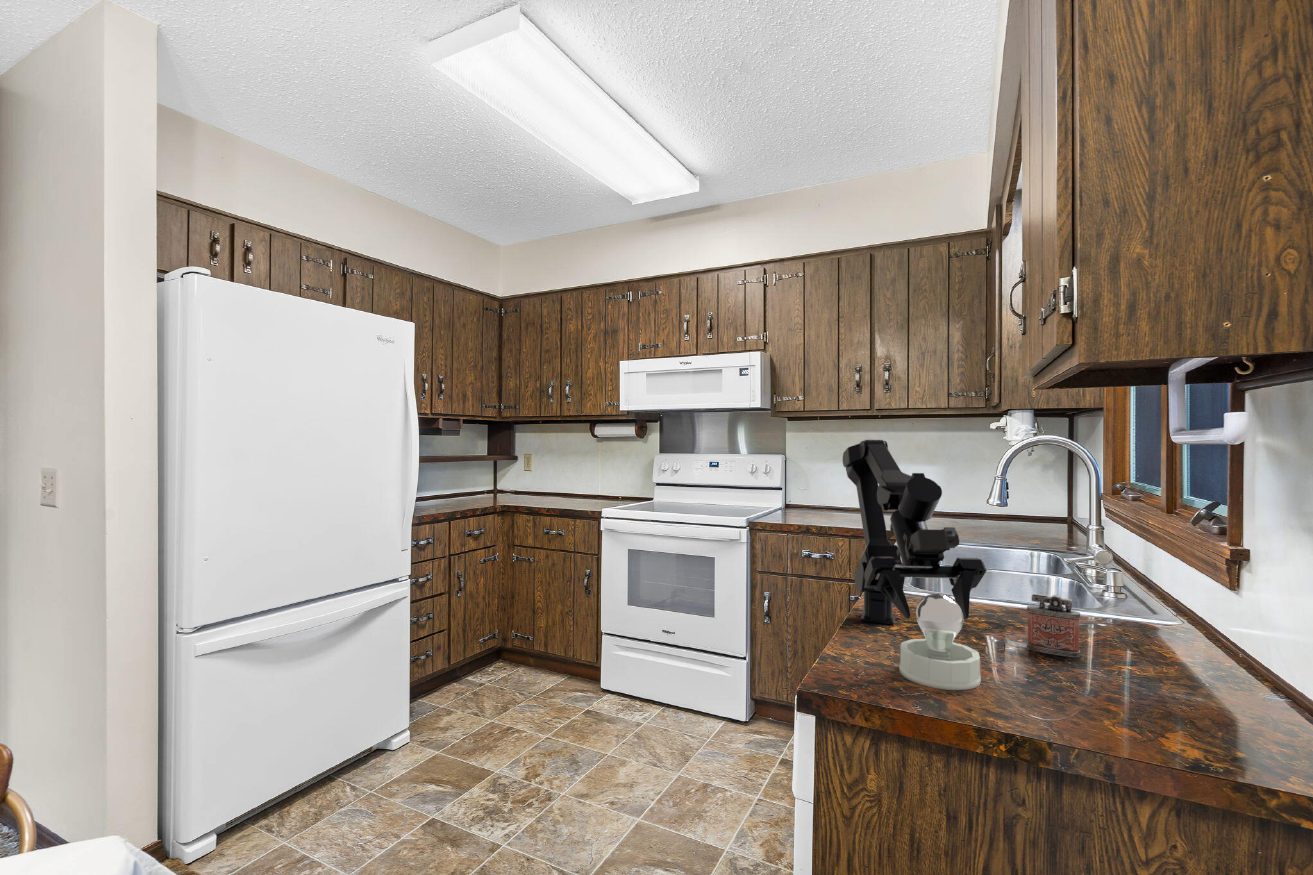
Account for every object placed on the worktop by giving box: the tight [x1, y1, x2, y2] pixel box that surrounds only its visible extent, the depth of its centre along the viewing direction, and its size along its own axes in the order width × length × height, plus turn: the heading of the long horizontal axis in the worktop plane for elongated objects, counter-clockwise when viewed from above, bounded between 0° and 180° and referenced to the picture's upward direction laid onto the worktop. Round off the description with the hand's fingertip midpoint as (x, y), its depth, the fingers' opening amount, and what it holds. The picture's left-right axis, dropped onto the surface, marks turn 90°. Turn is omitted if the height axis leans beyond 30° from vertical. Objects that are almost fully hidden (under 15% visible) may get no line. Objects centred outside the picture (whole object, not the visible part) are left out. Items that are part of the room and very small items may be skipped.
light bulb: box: [915, 592, 964, 661], centre depth 100 cm, size 7×7×12 cm
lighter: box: [1026, 593, 1081, 658], centre depth 112 cm, size 8×3×10 cm, turn 56°
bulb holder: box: [898, 638, 982, 691], centre depth 100 cm, size 12×12×4 cm
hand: (937, 617), depth 101 cm, fingers open, 9 cm apart
